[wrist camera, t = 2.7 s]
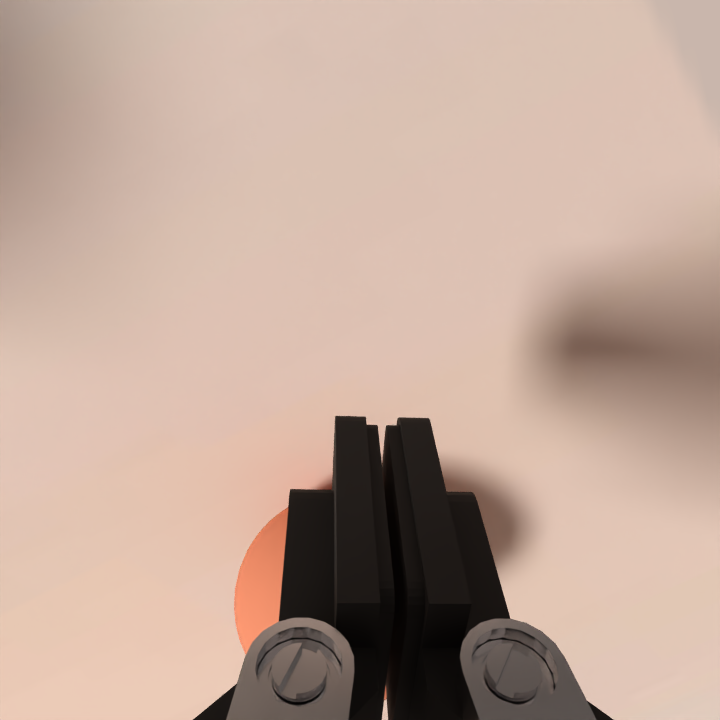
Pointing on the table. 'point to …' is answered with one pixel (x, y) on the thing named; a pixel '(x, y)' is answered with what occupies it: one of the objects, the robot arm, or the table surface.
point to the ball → (261, 582)
